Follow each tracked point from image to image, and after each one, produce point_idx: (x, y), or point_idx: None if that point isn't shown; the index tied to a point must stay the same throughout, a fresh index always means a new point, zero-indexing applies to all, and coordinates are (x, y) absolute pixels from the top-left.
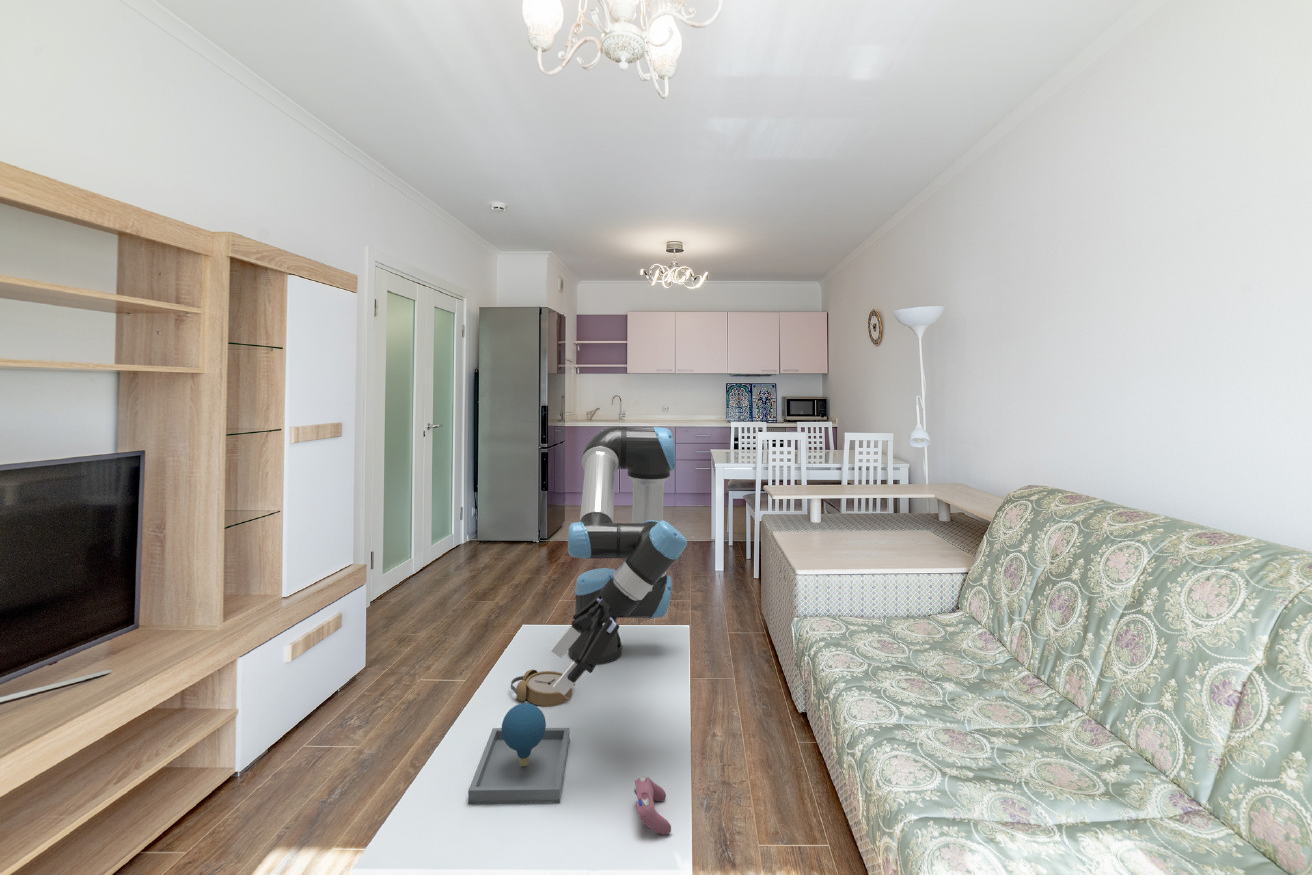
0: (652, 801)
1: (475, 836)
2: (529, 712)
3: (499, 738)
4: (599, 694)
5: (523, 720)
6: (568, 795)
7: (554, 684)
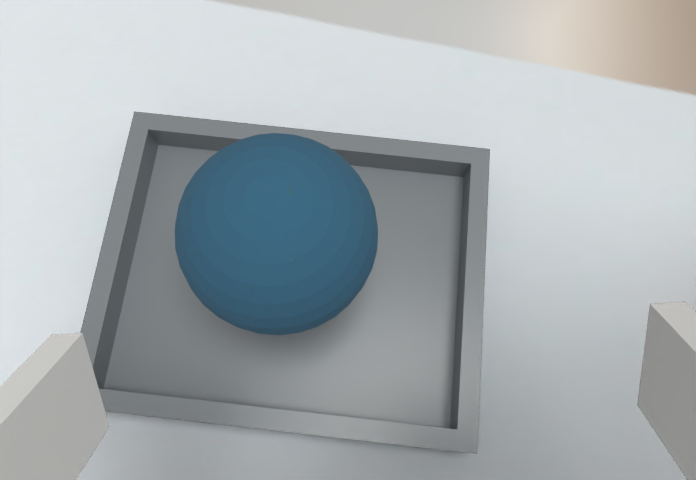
0: None
1: (5, 166)
2: (221, 232)
3: (464, 185)
4: None
5: (189, 212)
6: (116, 439)
7: (66, 343)
